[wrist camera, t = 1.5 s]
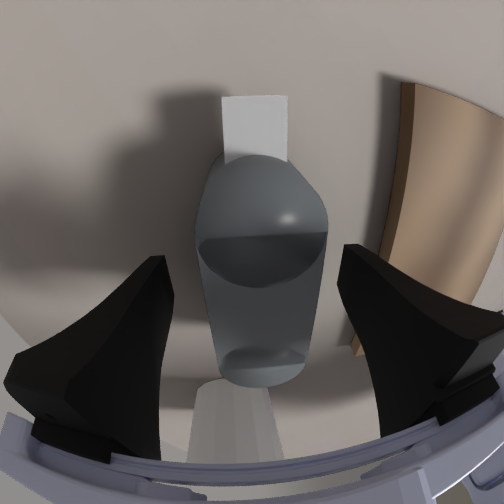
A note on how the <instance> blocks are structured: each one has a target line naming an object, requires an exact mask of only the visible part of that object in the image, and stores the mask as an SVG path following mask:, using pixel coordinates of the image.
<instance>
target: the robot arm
mask: <svg viewBox="0 0 504 504" xmlns="http://www.w3.org/2000/svg"><path fill="white" fill-rule="evenodd" d="M337 286H338V289H339V293H340V296H341V299H342V302H343V305H344V307H345V310H346V312H347V314H348V316H349V318H350V321H351V323H352V325H353V327H354V329H355V332H356V334H357V336H358V338H359V341H360V343H361V345H362V348H363V350H364V353H365V356H366V360H367V363H368V367H369V370H370V374H371V378H372V383H373V387H374V391H375V397H376V403H377V408H378V416H379V424H380V436H381V438H380V439H377V440H373V441H370V442H367V443H363V444H360V445H356V446H353V447H349V448H345V449H341V450H337V451H332V452H328V453H323V454H318V455H312V456H307V457H301V458H294V459H287V460H279V461H269V462H258V463H240V464H197V463H179V462H169V461H161V451H160V437H159V390H160V376H161V367H162V361H163V356H164V351H165V347H166V342H167V338H168V333H169V329H170V324H171V320H172V314H173V305H174V292H173V288H172V284H171V280H170V276H169V272H168V268H167V264H166V259H165V255H162V256H150V257H149V258H148V259H147V260H145V261H144V262H143V263H142V264H141V265H140V266H139V267H138V268H137V269H136V270H135V271H134V272H133V273H132V274H131V275H130V276H129V277H128V278H127V279H126V280H125V281H124V282H123V283H122V284H121V285H120V286H119V287H118V288H117V289H115V290H114V291H113V292H112V293H111V294H110V295H109V296H108V297H107V298H106V299H105V300H104V301H102V302H101V303H100V304H99V305H98V306H96V307H95V308H94V309H93V310H91V311H90V312H89V313H88V314H86V315H85V316H84V317H82V318H81V319H79V320H78V321H76V322H75V323H73V324H72V325H70V326H69V327H67V328H66V329H65V330H63V331H61V332H60V333H58V334H56V335H55V336H53V337H51V338H49V339H47V340H46V341H44V342H42V343H40V344H38V345H36V346H33V347H31V348H29V349H27V350H25V351H22V352H20V353H18V354H16V355H15V357H14V359H13V362H12V364H11V366H10V368H9V370H8V373H7V375H6V377H5V379H4V382H3V383H4V386H5V388H6V390H7V391H8V393H9V394H10V395H11V396H12V397H13V398H14V399H15V400H16V401H17V402H18V403H19V404H20V405H21V406H23V407H24V408H25V409H26V410H27V411H28V412H29V413H31V414H32V415H33V416H34V417H35V421H34V424H33V423H31V422H29V421H28V420H26V419H24V418H22V417H19V416H17V415H15V414H13V413H11V412H7V415H6V418H5V421H4V425H3V428H2V431H1V435H0V470H1V471H3V472H4V473H6V474H7V475H9V476H10V477H12V478H13V479H15V480H16V481H18V482H19V483H21V484H22V485H24V486H25V487H27V488H29V489H30V490H32V491H33V492H35V493H37V494H38V495H40V496H42V497H43V498H45V499H47V500H49V501H51V502H52V503H54V504H437V503H436V499H435V498H436V497H437V496H439V495H440V494H442V493H443V492H445V491H446V490H448V489H449V488H451V487H452V486H454V485H455V484H456V483H458V482H459V481H460V480H461V481H462V483H463V484H464V486H465V487H466V488H467V490H468V492H469V494H470V496H471V500H472V501H473V503H474V504H504V475H502V474H504V312H502V313H498V312H494V311H490V310H485V309H481V308H478V307H475V306H472V305H469V304H466V303H463V302H461V301H458V300H455V299H453V298H451V297H448V296H446V295H444V294H442V293H439V292H437V291H435V290H433V289H431V288H429V287H428V286H426V285H424V284H422V283H420V282H418V281H416V280H415V279H413V278H411V277H410V276H408V275H407V274H405V273H403V272H402V271H400V270H398V269H397V268H395V267H394V266H392V265H391V264H389V263H388V262H386V261H385V260H383V259H382V258H380V257H379V256H377V255H376V254H374V253H373V252H371V251H369V250H368V249H366V248H364V247H363V246H361V245H359V244H344V248H343V254H342V260H341V265H340V271H339V276H338V281H337ZM403 451H405V452H403ZM400 452H403V453H401V454H399V455H397V456H395V457H392V458H390V459H388V460H385V461H383V462H382V463H381V464H380V465H379V466H377V467H375V468H374V469H372V470H370V471H368V472H366V473H364V474H362V475H361V480H359V481H356V482H353V483H349V484H345V485H341V486H337V487H333V488H328V489H324V490H319V491H314V492H308V493H303V494H296V495H290V496H283V497H275V498H265V499H254V500H237V501H207V496H206V495H204V494H199V493H195V492H193V491H191V489H189V488H184V487H177V486H170V485H165V484H160V483H155V482H163V483H171V484H182V485H194V486H250V485H251V486H252V485H265V484H276V483H284V482H291V481H298V480H304V479H310V478H315V477H320V476H325V475H329V474H334V473H338V472H342V471H346V470H349V469H353V468H357V467H360V466H363V465H367V464H370V463H373V462H376V461H379V460H382V459H385V458H387V457H390V456H393V455H395V454H398V453H400ZM501 475H502V476H501ZM499 476H500V477H499ZM152 481H155V482H152Z"/></svg>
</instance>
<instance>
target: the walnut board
mask: <svg viewBox="0 0 504 504" xmlns="http://www.w3.org/2000/svg"><path fill="white" fill-rule="evenodd" d="M503 228H504V119H502V118H500V117H498V116H496V115H494V114H492V113H490V112H488V111H486V110H484V109H482V108H480V107H478V106H475V105H473V104H471V103H469V102H466V101H464V100H462V99H459V98H457V97H454V96H452V95H449V94H446V93H444V92H441V91H438V90H435V89H432V88H429V87H426V86H423V85H420V84H417V83H402V82H401V112H400V128H399V139H398V149H397V158H396V166H395V173H394V180H393V187H392V193H391V199H390V204H389V210H388V215H387V220H386V225H385V230H384V234H383V239H382V243H381V247H380V251H379V255H378V256H379V257H380V258H382V259H383V260H385V261H386V262H388V263H389V264H391V265H392V266H394V267H395V268H397V269H398V270H400V271H402V272H403V273H405V274H407V275H408V276H410V277H411V278H413V279H415V280H416V281H418V282H420V283H422V284H424V285H426V286H428V287H429V288H431V289H433V290H435V291H437V292H439V293H442V294H444V295H446V296H448V297H451V298H453V299H455V300H458V301H461V302H463V303H466V304H469V305H471V303H472V301H473V299H474V297H475V295H476V293H477V291H478V289H479V287H480V285H481V283H482V281H483V279H484V277H485V274H486V272H487V270H488V267H489V265H490V263H491V260H492V258H493V255H494V253H495V250H496V248H497V245H498V242H499V239H500V237H501V234H502V231H503ZM351 347H352V350H353V353H354V355H355V357H357V356H362V355H365V353H364V350H363V348H362V345H361V343H360V341H359V338H358V336H357V334H356V332H355V335H354V338H353V340H352V343H351Z"/></svg>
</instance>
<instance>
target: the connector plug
mask: <svg viewBox="0 0 504 504" xmlns="http://www.w3.org/2000/svg"><path fill="white" fill-rule="evenodd" d="M222 118H223V137H224V152H223V153H222V154H221V155H220V156H219V157H218V158H217V159H216V160H215V161H214V163H213V165H212V166H211V169H210V171H209V174H208V177H207V181H206V184H205V188H204V191H203V195H202V198H201V202H200V206H199V210H198V213H197V217H196V222H195V242H196V249H197V255H198V261H199V267H200V273H201V279H202V285H203V291H204V296H205V302H206V307H207V312H208V318H209V323H210V328H211V333H212V338H213V342H214V347H215V352H216V356H217V361H218V365H219V370H220V373H221V375H222V376H223V377H224V378H225V379H226V380H227V381H229V382H231V383H233V384H235V385H238V386H242V387H248V388H265V387H271V386H276V385H279V384H282V383H285V382H287V381H289V380H291V379H293V378H294V377H296V376H297V375H298V374H299V373H300V372H301V371H302V370H303V368H304V366H305V364H306V359H307V355H308V350H309V345H310V340H311V335H312V330H313V325H314V320H315V314H316V309H317V303H318V297H319V291H320V285H321V279H322V272H323V265H324V258H325V251H326V243H327V235H328V216H327V212H326V208H325V206H324V204H323V201H322V200H321V198H320V196H319V195H318V193H317V192H316V191H315V190H314V189H313V187H312V186H311V185H310V184H309V183H308V182H307V180H306V179H305V178H304V177H303V176H302V175H301V173H300V172H299V171H298V170H297V169H296V168H295V167H294V165H293V164H292V163H291V162H290V161H289V160H288V159H287V96H276V95H260V96H231V97H222Z"/></svg>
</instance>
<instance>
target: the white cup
mask: <svg viewBox="0 0 504 504" xmlns="http://www.w3.org/2000/svg"><path fill="white" fill-rule="evenodd" d="M279 460H285V458H284V454H283V450H282V446H281V442H280V438H279V434H278V430H277V426H276V422H275V418H274V413H273V409H272V405H271V401H270V397H269V393H268V388H267V387H265V388H248V387H242V386H238V385H235V384H233V383H231V382H229V381H227V380H226V379H216V380H213V381H210V382H207V383H204V384H203V385H202V386H201V387H199V388H198V390H197V394H196V401H195V407H194V413H193V420H192V427H191V433H190V440H189V447H188V455H187V462H186V463H197V464H240V463H258V462H269V461H279Z"/></svg>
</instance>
